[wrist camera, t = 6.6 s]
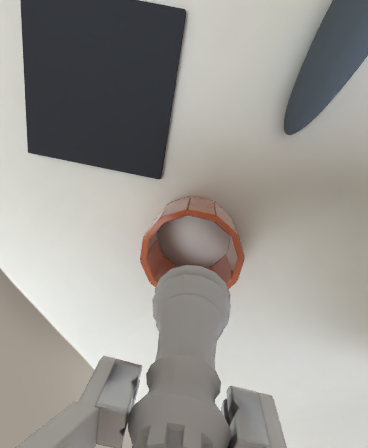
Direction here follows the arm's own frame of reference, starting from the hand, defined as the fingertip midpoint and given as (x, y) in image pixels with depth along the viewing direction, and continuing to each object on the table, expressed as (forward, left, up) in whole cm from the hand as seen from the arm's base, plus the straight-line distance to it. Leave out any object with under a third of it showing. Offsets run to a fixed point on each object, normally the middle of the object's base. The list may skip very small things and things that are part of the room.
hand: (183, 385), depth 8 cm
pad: (+10, -11, -14) cm, 21 cm away
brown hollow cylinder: (0, 0, -14) cm, 14 cm away
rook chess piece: (0, 0, -6) cm, 6 cm away
